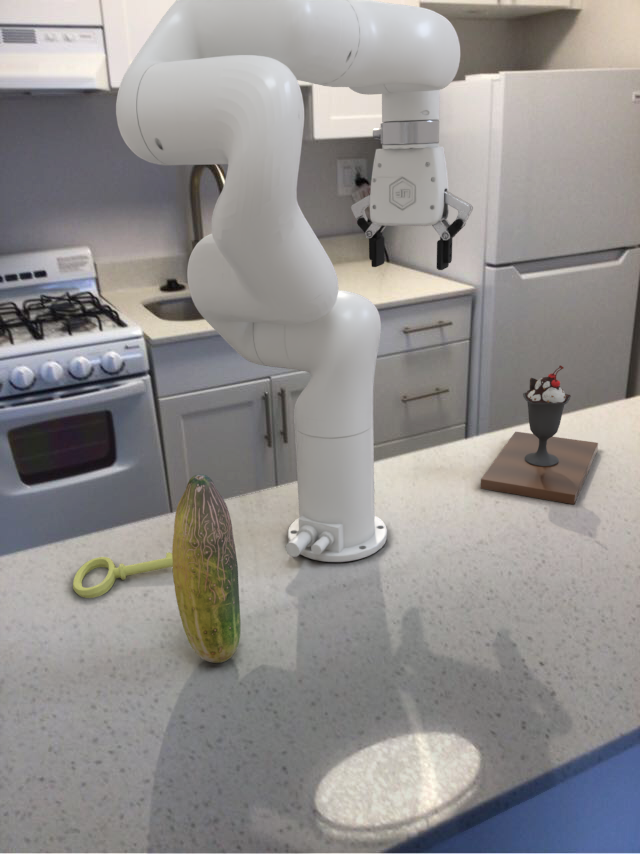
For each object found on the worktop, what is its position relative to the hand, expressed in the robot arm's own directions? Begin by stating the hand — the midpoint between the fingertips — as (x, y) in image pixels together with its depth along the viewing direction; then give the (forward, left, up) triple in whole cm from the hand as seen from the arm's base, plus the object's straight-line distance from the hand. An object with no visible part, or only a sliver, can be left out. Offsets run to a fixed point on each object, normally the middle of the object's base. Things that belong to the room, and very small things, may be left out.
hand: (409, 267), depth 106 cm
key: (-44, +19, -31) cm, 57 cm away
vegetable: (-51, +1, -31) cm, 59 cm away
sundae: (+6, -19, -29) cm, 35 cm away
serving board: (+6, -19, -30) cm, 36 cm away
